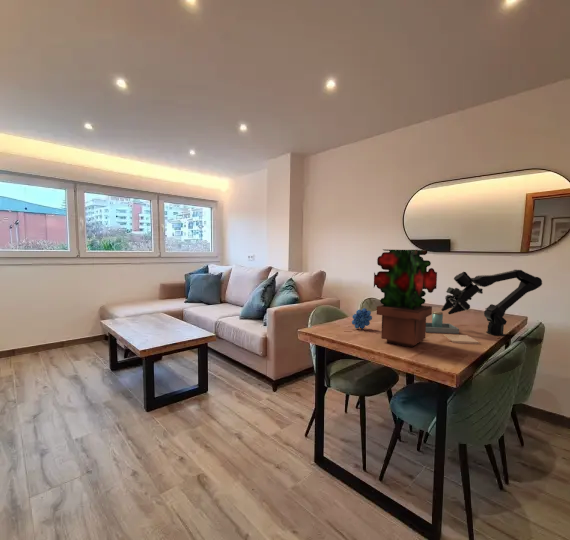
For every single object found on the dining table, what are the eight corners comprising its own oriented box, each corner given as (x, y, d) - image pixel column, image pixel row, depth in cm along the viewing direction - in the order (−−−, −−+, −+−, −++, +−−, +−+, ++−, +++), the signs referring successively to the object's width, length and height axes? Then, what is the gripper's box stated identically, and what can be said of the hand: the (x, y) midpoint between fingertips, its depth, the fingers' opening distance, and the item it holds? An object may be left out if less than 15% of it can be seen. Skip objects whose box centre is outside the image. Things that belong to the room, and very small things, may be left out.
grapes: (369, 327, 174) (369, 306, 173) (373, 330, 167) (373, 309, 167) (349, 327, 174) (350, 306, 173) (352, 330, 167) (353, 308, 166)
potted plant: (372, 342, 144) (374, 249, 141) (389, 333, 161) (392, 250, 158) (420, 352, 129) (424, 249, 127) (434, 341, 146) (438, 250, 144)
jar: (438, 328, 169) (439, 311, 168) (444, 331, 164) (444, 313, 163) (429, 328, 169) (430, 311, 168) (434, 331, 163) (435, 313, 163)
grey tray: (449, 329, 171) (449, 323, 171) (458, 335, 159) (459, 328, 159) (416, 328, 173) (416, 322, 173) (423, 333, 161) (423, 327, 161)
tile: (467, 337, 155) (467, 335, 155) (478, 344, 144) (478, 342, 144) (442, 336, 157) (442, 334, 157) (452, 342, 145) (452, 340, 145)
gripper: (449, 280, 173) (428, 299, 175) (465, 284, 154) (441, 304, 156) (463, 294, 172) (442, 312, 174) (480, 299, 154) (456, 319, 156)
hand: (445, 312), depth 165 cm, fingers open, 9 cm apart
